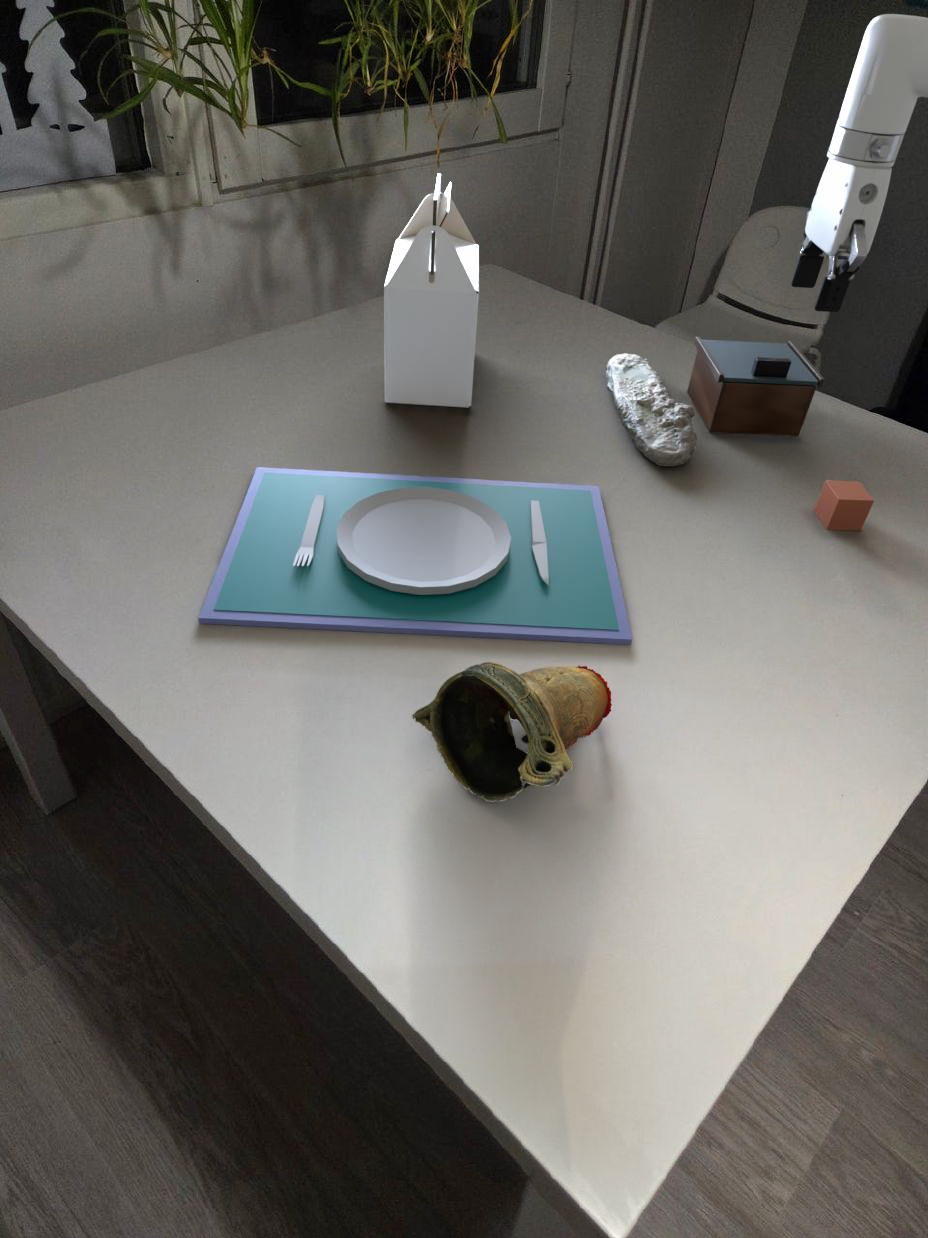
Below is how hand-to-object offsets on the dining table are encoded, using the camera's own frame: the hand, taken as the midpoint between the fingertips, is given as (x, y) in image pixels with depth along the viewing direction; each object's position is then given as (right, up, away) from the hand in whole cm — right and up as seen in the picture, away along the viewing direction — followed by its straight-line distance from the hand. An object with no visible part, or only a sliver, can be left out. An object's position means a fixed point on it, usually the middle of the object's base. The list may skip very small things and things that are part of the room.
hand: (813, 297), depth 107 cm
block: (+3, -29, +1) cm, 29 cm away
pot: (-41, -55, -33) cm, 76 cm away
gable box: (-51, -2, +27) cm, 58 cm away
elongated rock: (-18, -10, +21) cm, 29 cm away
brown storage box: (-2, -9, +23) cm, 25 cm away
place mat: (-50, -34, -10) cm, 61 cm away
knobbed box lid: (-1, -3, +18) cm, 18 cm away
